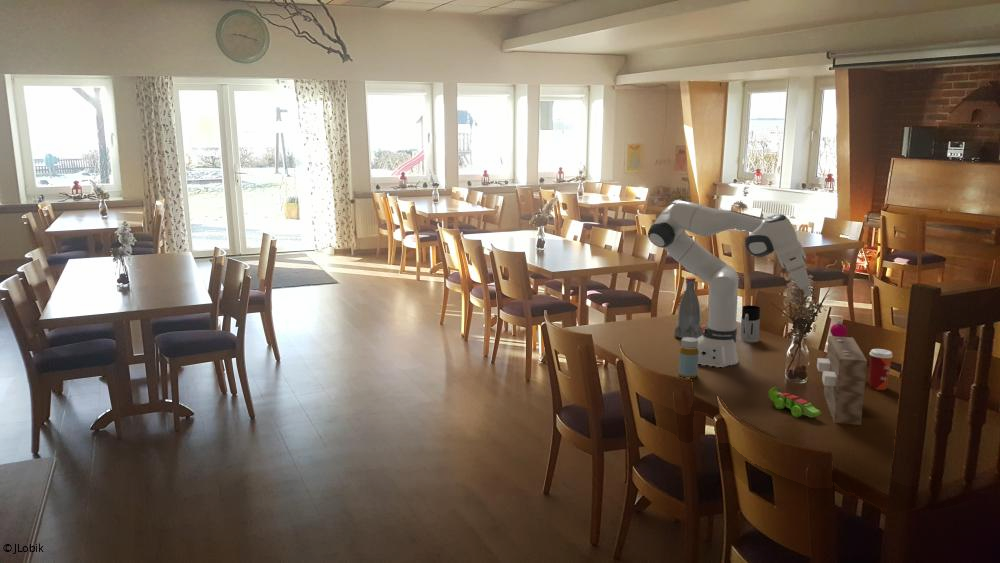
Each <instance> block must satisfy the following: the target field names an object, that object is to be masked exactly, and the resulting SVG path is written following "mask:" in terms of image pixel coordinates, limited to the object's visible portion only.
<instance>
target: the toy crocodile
mask: <svg viewBox="0 0 1000 563" xmlns="http://www.w3.org/2000/svg"><path fill="white" fill-rule="evenodd" d="M767 395H768V398H769V399H770V400H771V401H772V402H774V403H773V404H774V407H775V408H776V409H778V410H782V409H783V410H784V409H785V407H786V408H787V409H788V410H789V409H790V412H791V413H790V414H791V415H792V416H793V417H795V418H799V417H802V416H805V417H808V418H815V417H818V416H820V415H821V414H822V411H821V410H819V409H817V408H816V407H815V406H813V404H812V403H811V402H809V401H808V400H806V399H803V398H800V396H797V395H795V394H793V395H792V394H791V393H788V392H785V393H782V392H779V391H778V390H777V386H774V387H771V388H770V389H769V390H768V394H767Z"/></svg>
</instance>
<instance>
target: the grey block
mask: <svg viewBox="0 0 1000 563" xmlns="http://www.w3.org/2000/svg"><path fill="white" fill-rule="evenodd" d="M816 368H817V371H818V372H820V373H821V372H822V373H823V371H829V372H830V360H829V359H826V358H824V357H823V358H822V357H821V358H820V357H817V361H816Z"/></svg>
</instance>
